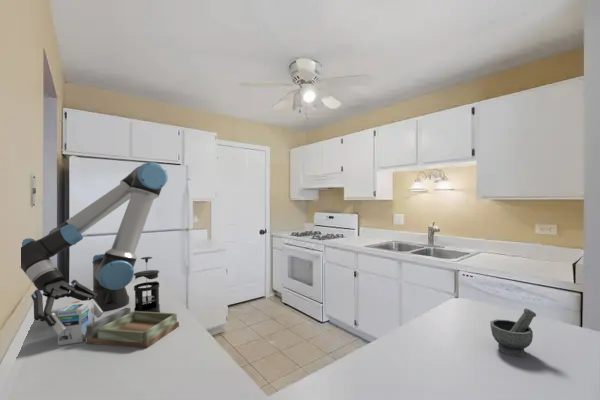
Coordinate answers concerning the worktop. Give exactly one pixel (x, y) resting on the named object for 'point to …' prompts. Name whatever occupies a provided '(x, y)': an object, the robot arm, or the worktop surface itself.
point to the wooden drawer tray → (131, 328)
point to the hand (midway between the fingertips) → (82, 322)
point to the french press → (150, 301)
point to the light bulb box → (75, 321)
